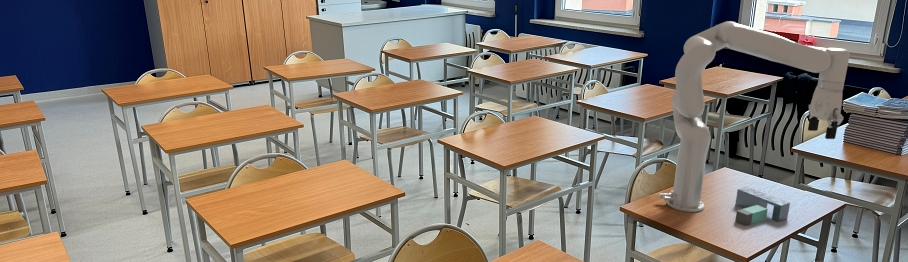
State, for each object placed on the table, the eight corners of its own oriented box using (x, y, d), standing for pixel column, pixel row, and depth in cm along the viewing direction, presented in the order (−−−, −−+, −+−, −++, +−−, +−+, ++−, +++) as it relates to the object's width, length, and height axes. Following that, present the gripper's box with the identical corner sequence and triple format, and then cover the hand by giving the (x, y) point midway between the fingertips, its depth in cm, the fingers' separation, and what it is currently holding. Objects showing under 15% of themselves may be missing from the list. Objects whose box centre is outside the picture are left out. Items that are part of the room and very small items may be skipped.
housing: (778, 221, 221) (781, 205, 219) (735, 204, 235) (737, 189, 233) (787, 219, 223) (790, 202, 222) (744, 202, 237) (746, 186, 236)
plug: (745, 225, 217) (747, 214, 216) (735, 221, 220) (736, 210, 219) (766, 219, 223) (767, 208, 221) (755, 215, 226) (757, 204, 225)
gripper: (804, 79, 224) (796, 127, 228) (836, 91, 207) (826, 142, 212) (825, 80, 224) (816, 127, 229) (858, 91, 208) (847, 142, 212)
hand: (821, 134), depth 220 cm, fingers open, 9 cm apart
